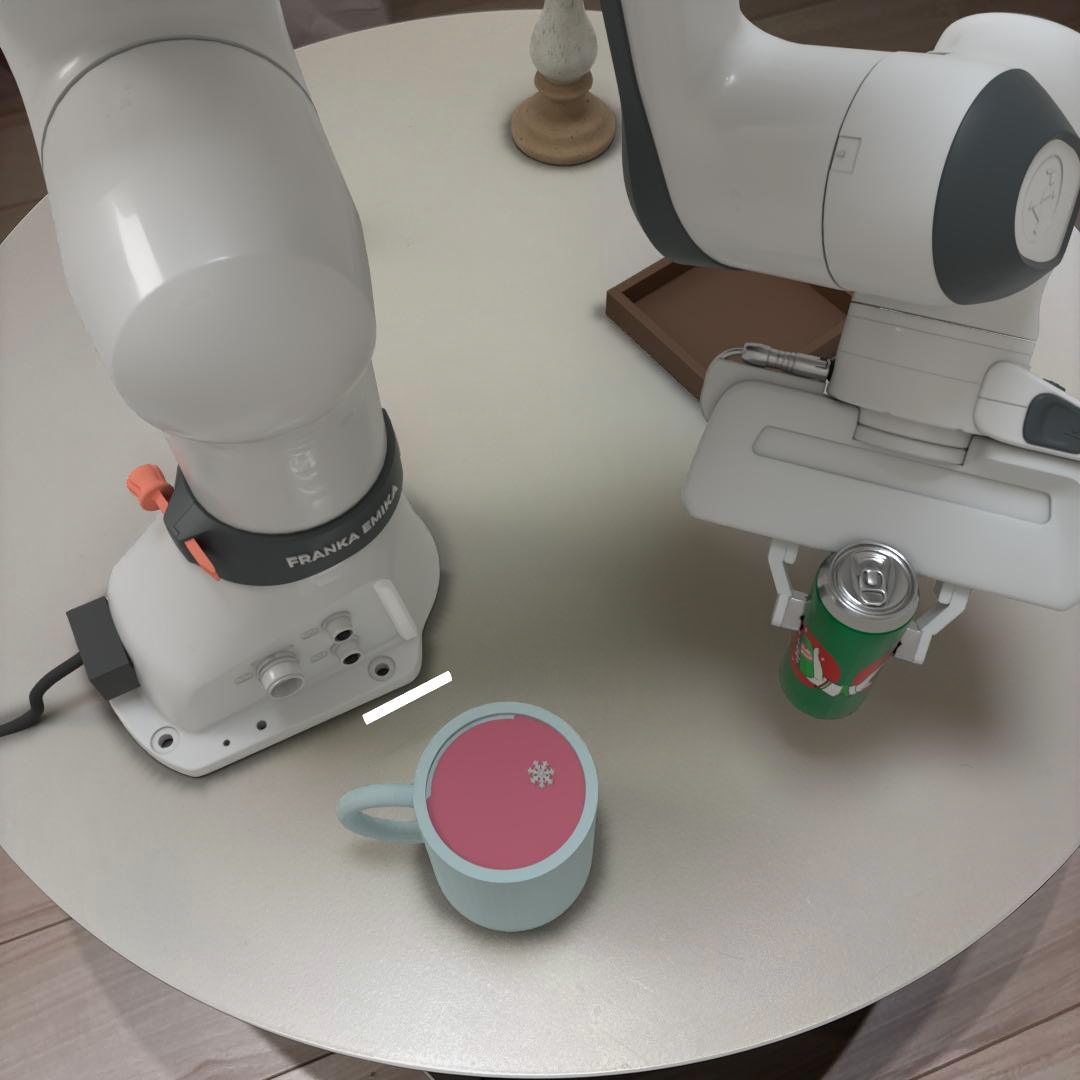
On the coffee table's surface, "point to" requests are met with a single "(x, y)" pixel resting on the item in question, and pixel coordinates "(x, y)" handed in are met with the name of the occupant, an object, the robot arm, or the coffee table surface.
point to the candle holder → (563, 90)
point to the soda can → (848, 629)
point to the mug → (496, 814)
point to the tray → (723, 315)
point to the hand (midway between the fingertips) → (845, 642)
